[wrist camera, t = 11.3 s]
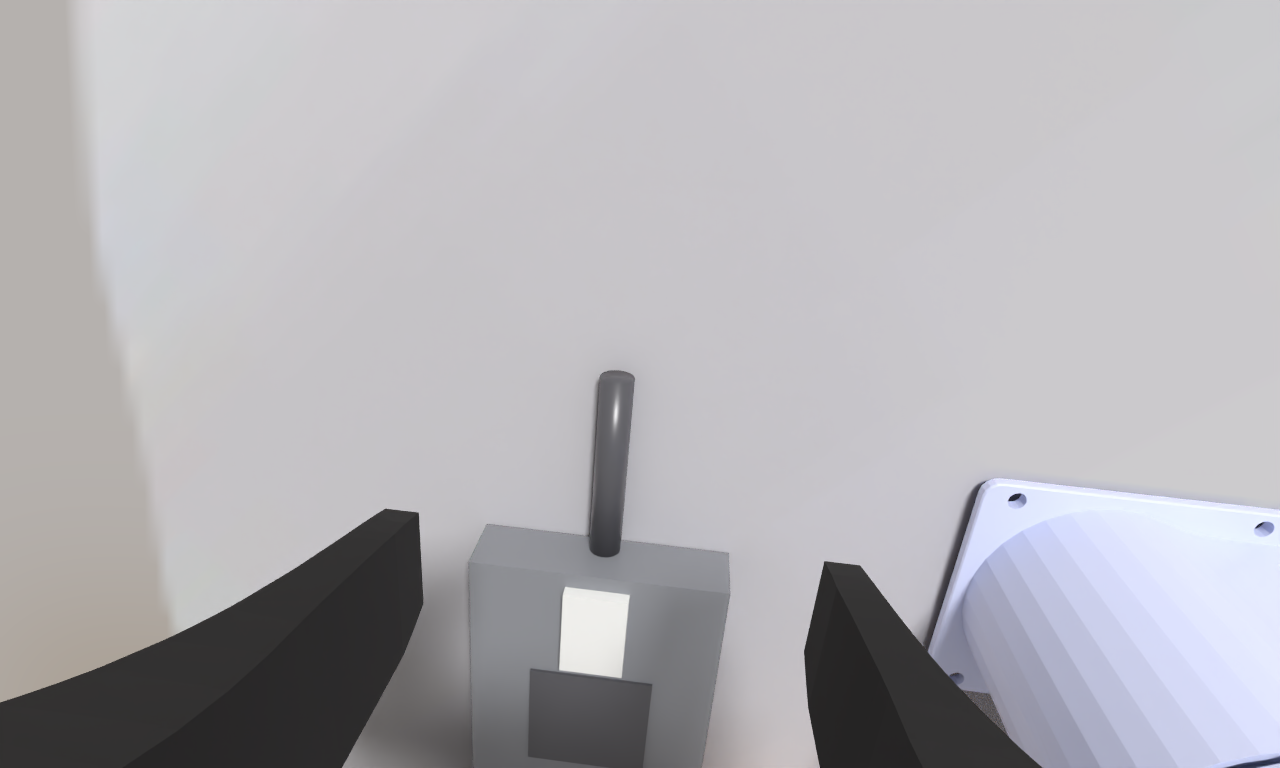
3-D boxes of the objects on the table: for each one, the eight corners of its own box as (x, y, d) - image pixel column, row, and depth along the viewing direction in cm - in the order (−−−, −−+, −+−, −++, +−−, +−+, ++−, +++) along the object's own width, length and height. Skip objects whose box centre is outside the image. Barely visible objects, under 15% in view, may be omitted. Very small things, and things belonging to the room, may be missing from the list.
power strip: (755, 385, 21) (760, 422, 19) (674, 897, 31) (671, 960, 29) (485, 356, 22) (460, 389, 20) (489, 871, 32) (472, 931, 29)
